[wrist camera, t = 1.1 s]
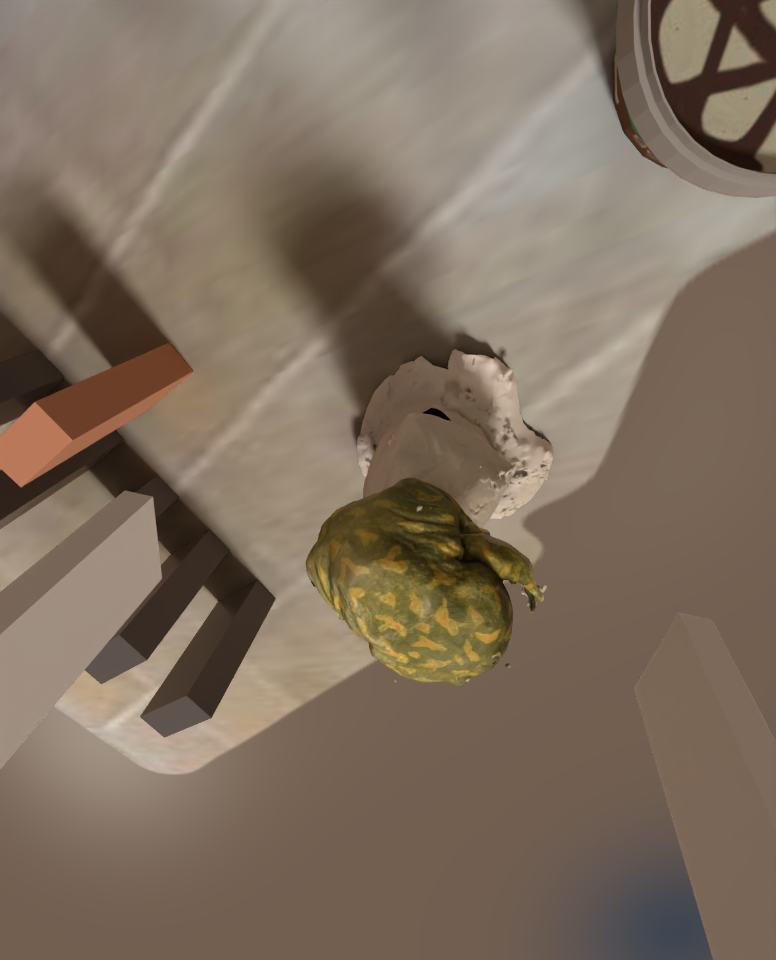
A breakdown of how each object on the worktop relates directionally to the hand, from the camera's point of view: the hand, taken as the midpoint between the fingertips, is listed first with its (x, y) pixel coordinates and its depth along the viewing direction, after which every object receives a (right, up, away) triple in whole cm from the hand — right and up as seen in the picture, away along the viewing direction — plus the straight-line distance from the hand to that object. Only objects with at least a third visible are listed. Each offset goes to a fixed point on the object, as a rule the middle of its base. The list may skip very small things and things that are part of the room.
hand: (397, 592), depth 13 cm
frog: (+4, +6, +22) cm, 23 cm away
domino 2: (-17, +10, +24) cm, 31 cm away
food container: (+15, +20, +12) cm, 28 cm away
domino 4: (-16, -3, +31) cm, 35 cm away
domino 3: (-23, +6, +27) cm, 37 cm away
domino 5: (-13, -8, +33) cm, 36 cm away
